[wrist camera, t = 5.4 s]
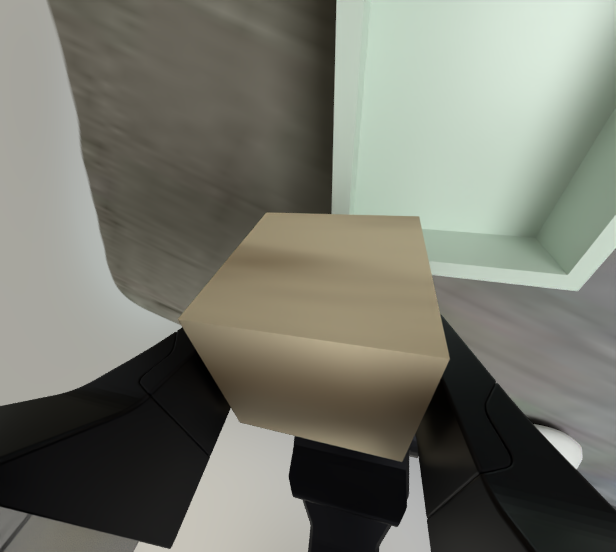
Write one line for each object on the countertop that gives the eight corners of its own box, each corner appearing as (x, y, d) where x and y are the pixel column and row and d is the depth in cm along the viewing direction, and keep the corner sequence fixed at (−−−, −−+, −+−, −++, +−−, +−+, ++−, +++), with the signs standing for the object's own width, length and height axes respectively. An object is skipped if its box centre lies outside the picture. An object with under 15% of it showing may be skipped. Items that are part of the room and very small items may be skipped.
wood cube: (397, 324, 11) (402, 462, 7) (286, 311, 12) (240, 422, 8) (419, 216, 8) (449, 358, 4) (266, 212, 9) (178, 319, 5)
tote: (537, 243, 18) (577, 291, 14) (340, 227, 21) (330, 263, 17) (919, -359, 6) (1667, -954, 3) (362, -209, 9) (345, -393, 6)
